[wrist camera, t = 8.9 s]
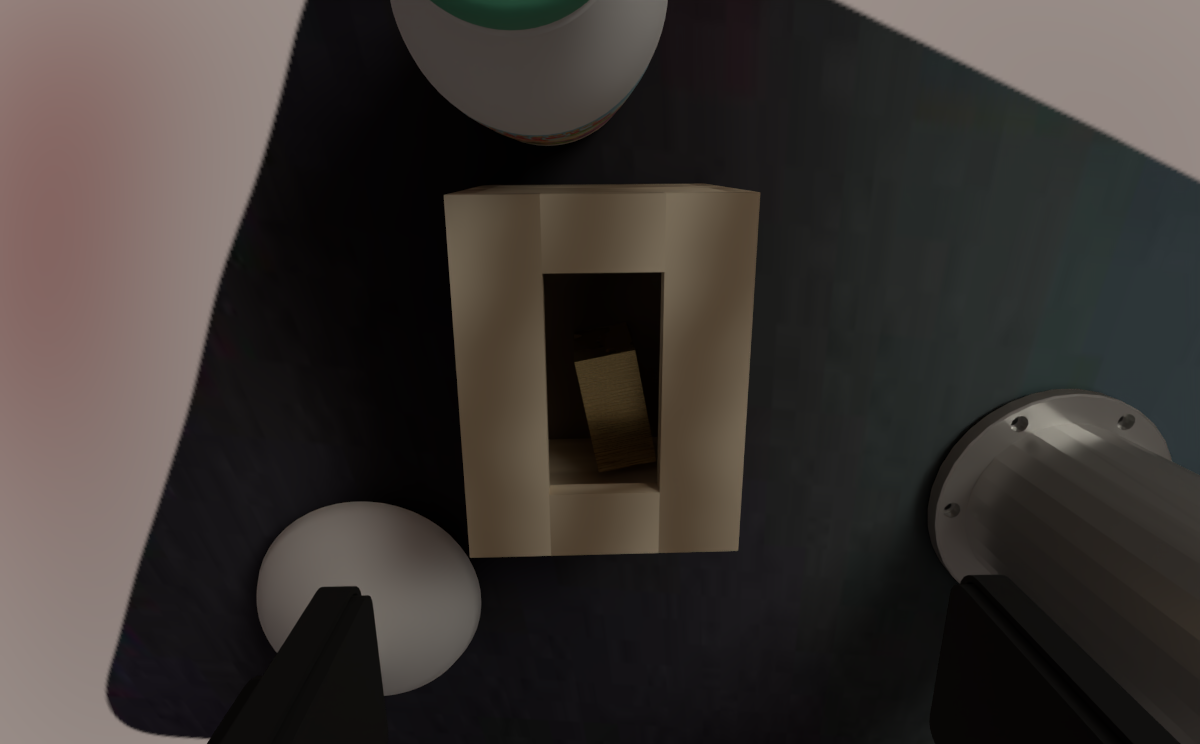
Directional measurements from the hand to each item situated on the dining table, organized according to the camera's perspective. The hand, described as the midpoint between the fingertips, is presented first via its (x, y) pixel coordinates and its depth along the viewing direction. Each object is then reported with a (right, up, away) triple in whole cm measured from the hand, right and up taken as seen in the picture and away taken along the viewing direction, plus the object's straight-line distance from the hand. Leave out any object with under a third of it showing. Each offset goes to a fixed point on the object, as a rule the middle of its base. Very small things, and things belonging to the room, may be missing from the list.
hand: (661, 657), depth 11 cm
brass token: (-1, +6, +19) cm, 20 cm away
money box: (-1, +7, +22) cm, 23 cm away
